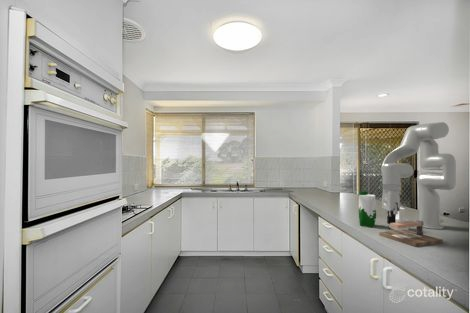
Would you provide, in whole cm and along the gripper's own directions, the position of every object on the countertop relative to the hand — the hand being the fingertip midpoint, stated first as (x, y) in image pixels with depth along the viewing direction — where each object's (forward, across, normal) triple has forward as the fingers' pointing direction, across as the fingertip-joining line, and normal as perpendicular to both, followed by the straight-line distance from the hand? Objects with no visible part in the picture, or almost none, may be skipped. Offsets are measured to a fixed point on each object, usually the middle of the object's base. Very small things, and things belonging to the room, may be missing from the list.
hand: (391, 224), depth 124 cm
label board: (+6, +4, +7) cm, 10 cm away
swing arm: (0, +4, +6) cm, 7 cm away
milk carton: (+6, -20, -4) cm, 21 cm away
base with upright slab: (+6, -16, +10) cm, 20 cm away
